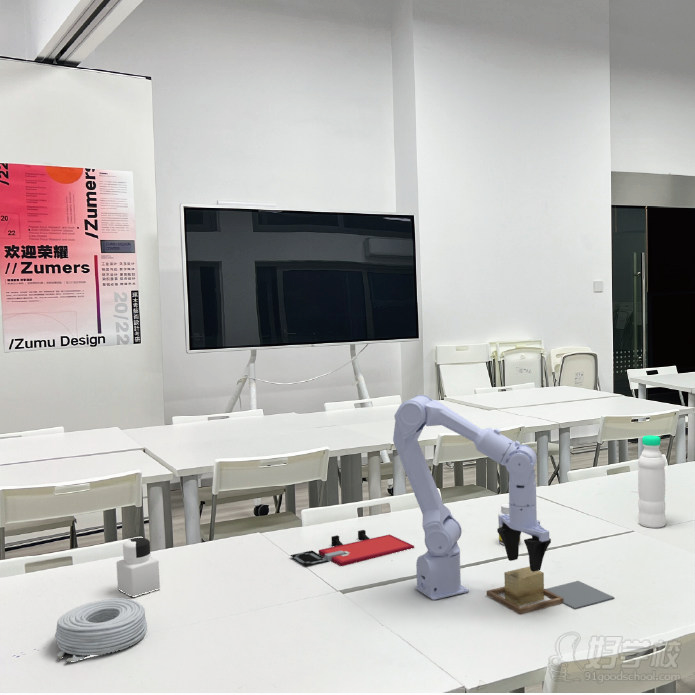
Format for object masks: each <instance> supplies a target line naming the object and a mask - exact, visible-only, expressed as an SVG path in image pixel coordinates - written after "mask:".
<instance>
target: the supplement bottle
mask: <svg viewBox="0 0 695 695" xmlns="http://www.w3.org/2000/svg"><path fill="white" fill-rule="evenodd" d="M505 514H506V515H509V502H508V503H502V504H501V505H500V511H499V512H498V514H497V515H498V516H497V518H498V521H499V516H500V515H505ZM502 526H503V525H500V524H499V523H498V528H501V527H502ZM498 542H499V543H500V545H503V546H504V543H503V541H502V539H501V537H500V535H499V534H498ZM519 544H521V539H520V540H519Z"/></svg>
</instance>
